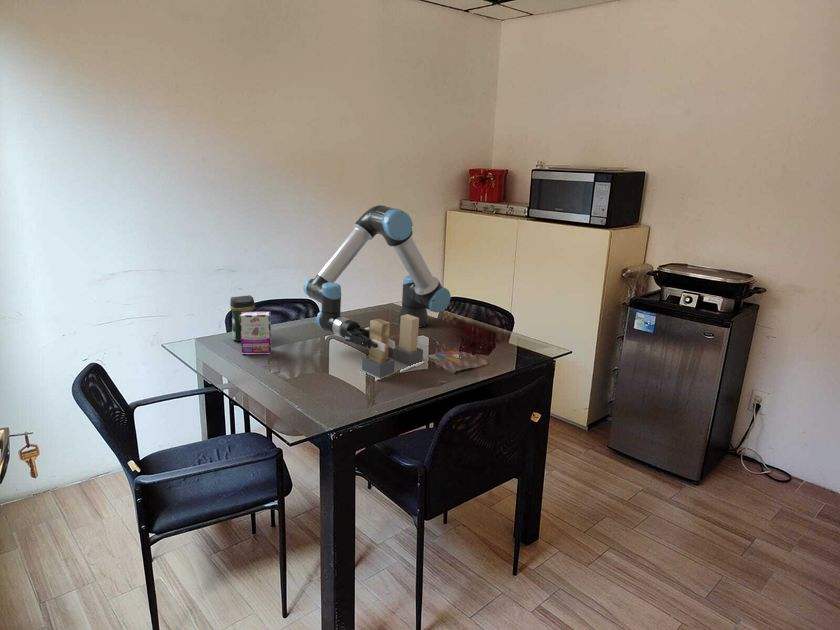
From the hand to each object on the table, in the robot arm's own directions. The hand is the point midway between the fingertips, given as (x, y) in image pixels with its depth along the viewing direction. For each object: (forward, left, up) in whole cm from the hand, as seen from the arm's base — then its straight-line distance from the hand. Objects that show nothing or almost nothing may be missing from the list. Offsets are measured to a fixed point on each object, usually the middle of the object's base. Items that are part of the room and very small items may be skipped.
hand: (389, 346), depth 200 cm
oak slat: (0, -5, -10) cm, 11 cm away
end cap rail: (-8, -5, -12) cm, 16 cm away
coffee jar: (+19, -66, -13) cm, 70 cm away
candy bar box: (+23, -50, -13) cm, 57 cm away
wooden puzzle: (-32, +7, -13) cm, 36 cm away
